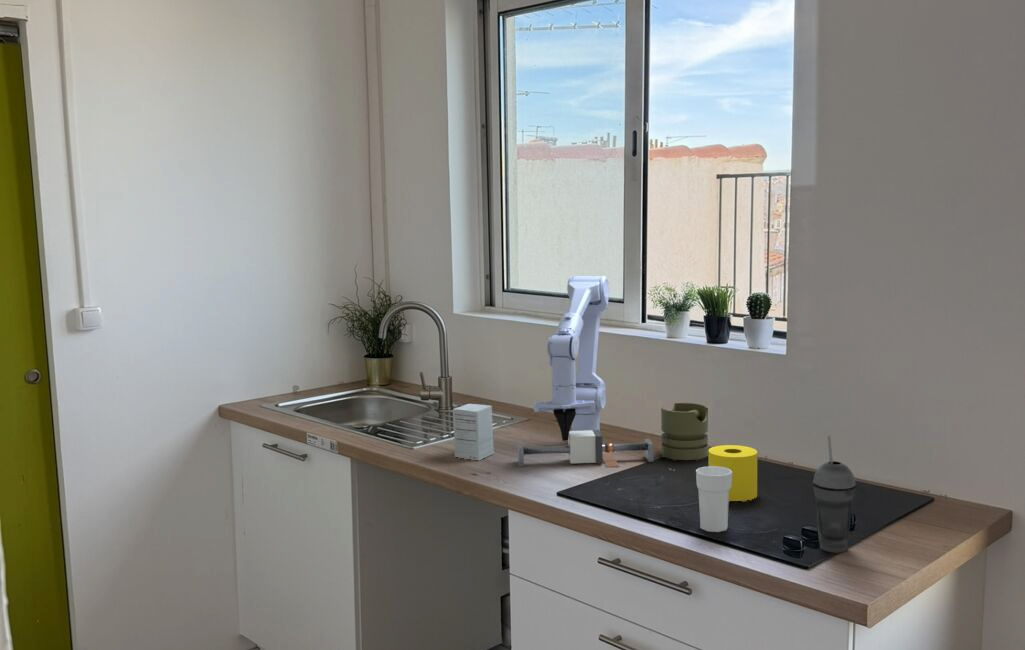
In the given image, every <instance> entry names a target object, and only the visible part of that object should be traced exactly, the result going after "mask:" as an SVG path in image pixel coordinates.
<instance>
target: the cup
mask: <svg viewBox="0 0 1025 650" xmlns="http://www.w3.org/2000/svg"><path fill="white" fill-rule="evenodd" d="M695 475H696V476H695V477H696V487H697V490H698V504H699V505H698V508H699V521H700V529H701V530H703V531H706V532H710V533H711V532H712V533H715V532H716V533H720V532H724V531H728V524H729V522H728V520H729V506H730V505H729V504H730V501H729V489H730V488H731V484H732V471H731V470H730V469H728V468H724V467H717V466H709V465H708V466H702V467H698V468H697V469H695Z"/></svg>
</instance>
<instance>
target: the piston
mask: <svg viewBox="0 0 1025 650" xmlns="http://www.w3.org/2000/svg"><path fill="white" fill-rule="evenodd" d="M673 405H674V406H673V407H672V408H673V409H672V410H670V409H666V408H664V406H661V407H660V413H661V414H660V415H661V417H660V418H661V419H660V420H661V421H660V422H661V426H660V427H661V431H662V432H663V433H661V435H660V436H661V439H660V440H661V457H663V458H664V457H667V458H672V459H682V460H693V459H702V458H705V457H707V456H708V457H709V451H708V450H709V435H708V434H707V432H708V431H709V407H708V405H705V404H702V403H696V402H675V403H674V404H673ZM708 457H707V458H708ZM667 458H666V459H667ZM705 459H706V458H705ZM702 460H703V459H702Z"/></svg>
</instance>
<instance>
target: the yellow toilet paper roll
mask: <svg viewBox="0 0 1025 650" xmlns="http://www.w3.org/2000/svg"><path fill="white" fill-rule="evenodd" d="M708 466H717V467H724V468H728V469H730V470H731V471H732V484H731V488H730V489H729V502H730V501H742V502H748V501H747V500H749V501H752V499H753V500H754V498H755V499H757V497H758V450H756V449H755V448H753V447H750V446H745V445H739V444H738V445H736V444H735V445H734V444H724V445H716V446H712V447H710V448H708Z"/></svg>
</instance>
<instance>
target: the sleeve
mask: <svg viewBox="0 0 1025 650" xmlns="http://www.w3.org/2000/svg"><path fill="white" fill-rule="evenodd" d="M567 443H568V445H567V446H570V453H567V454H568V455H567V456H568V457H567V458H568V460H569V462H570V464H591V463H592V464H593V463H596V445H595V434H594V432H593V431H592V430H586V431H572V430H570V431H569V436H568V441H567ZM596 464H597V463H596Z"/></svg>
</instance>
